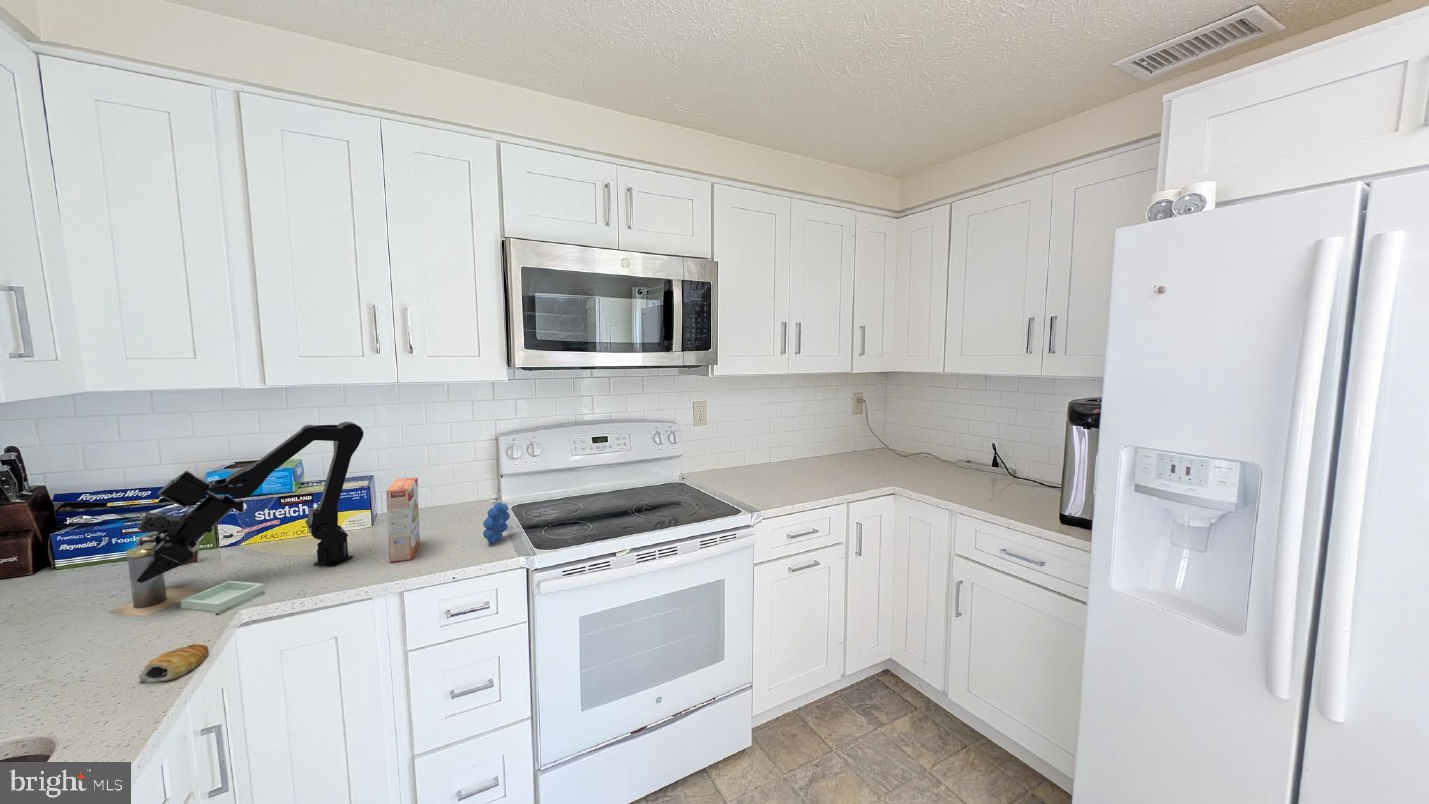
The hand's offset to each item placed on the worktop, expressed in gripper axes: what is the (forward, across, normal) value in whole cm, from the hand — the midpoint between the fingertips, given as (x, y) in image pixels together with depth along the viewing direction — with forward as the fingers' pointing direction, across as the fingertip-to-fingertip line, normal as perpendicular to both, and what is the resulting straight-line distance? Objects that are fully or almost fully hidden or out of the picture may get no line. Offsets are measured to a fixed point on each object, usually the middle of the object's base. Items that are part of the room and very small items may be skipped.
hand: (139, 575), depth 115 cm
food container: (+2, -27, +9) cm, 28 cm away
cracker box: (-31, +8, +42) cm, 53 cm away
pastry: (+2, +38, +9) cm, 39 cm away
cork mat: (+4, 0, +7) cm, 8 cm away
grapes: (-47, +16, +57) cm, 76 cm away
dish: (-4, +10, +14) cm, 18 cm away
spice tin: (+4, 0, +6) cm, 7 cm away
